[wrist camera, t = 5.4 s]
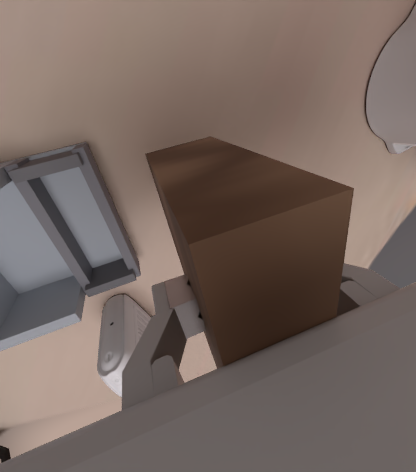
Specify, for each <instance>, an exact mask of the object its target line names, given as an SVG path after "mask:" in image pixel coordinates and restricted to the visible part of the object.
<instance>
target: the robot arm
mask: <svg viewBox="0 0 416 472" xmlns="http://www.w3.org/2000/svg"><path fill="white" fill-rule="evenodd" d="M366 113H367V119H368V122H369V125H370V127H371V129H372V131H373V132H374V133H375V134H376V135H377V136H378V137H380V138H381V139H383V140H384V141H385V142H386V145H387V148H388V150H389V152H390V153H393V154H400V153H402V152H404V151H406V150H407V149H409V148H411V147H413V146H416V4H415V6H414V8H413V10H412V12H411V14H410V16H409V17H408V19H407V20H406V21H405V22H404V23H403V25H402V26H401V27H400V28H399V29H398V30H397V31H396V32H395V33H394V35H393V36H392V37H391V38H390V40H389V41H388V43H387V44H386V46H385V47H384V49H383V50H382V52H381V54H380V56H379V58H378V60H377V62H376V64H375V67H374V69H373V72H372V75H371V78H370V82H369V86H368V91H367V98H366ZM152 293H153V300H154V306H155V312H156V315H154V316H152V317H151V319H150V321H149V323H148V325H147V327H146V329H145V330H144V332H143V334H142V336H141V338H140V340H139V342H138V343H137V345H136V347H135V349H134V351H133V353H132V355H131V357H130V358H129V360H128V362H127V364H126V366H125V368H124V370H123V371H122V411H119V412H117V413H115V414H113V415H111V416H108V417H106V418H104V419H101V420H99V421H96V422H94V423H92V424H90V425H88V426H85V427H83V428H80V429H78V430H76V431H74V432H71V433H69V434H67V435H64V436H62V437H60V438H58V439H55V440H53V441H51V442H48V443H46V444H44V445H41V446H39V447H37V448H35V449H32V450H30V451H28V452H25V453H23V454H21V455H19V456H16V457H14V458H12V459H9V460H7V461H5V462H3V463H0V472H416V282H415V283H413V284H410V285H408V286H406V287H404V288H401V289H400V288H398V287H397V286H395V285H394V284H392V283H391V282H389V281H388V280H386V279H385V278H383V277H382V276H380V275H379V274H377V273H376V272H374V271H373V270H370V269H366V268H362V267H357V266H353V265H349V264H345V263H344V264H343V271H342V278H341V286H340V293H339V300H338V308H337V315H336V317H335V318H333V319H331V320H329V321H326V322H324V323H322V324H319V325H317V326H315V327H313V328H310V329H308V330H306V331H303V332H301V333H299V334H297V335H294V336H292V337H290V338H288V339H285V340H283V341H281V342H278V343H276V344H274V345H272V346H269V347H267V348H265V349H262V350H260V351H258V352H256V353H253V354H251V355H249V356H246V357H244V358H242V359H240V360H237V361H235V362H233V363H230V364H228V365H226V366H223V367H220V368H218V369H216V370H213V371H211V372H209V373H206V374H204V375H202V376H200V377H197V378H195V379H193V380H190V381H188V382H186V383H184V381H183V378H182V376H181V374H180V372H179V366H180V363H181V359H182V355H183V352H184V348H185V345H186V341H187V338H189V337H192V336H194V335H196V334H198V333H201V332H203V331H205V330H206V328H205V325H204V322H203V319H202V316H201V314H200V309H199V306H198V303H197V300H196V297H195V294H194V292H193V289H192V287H191V285H190V282H189V279H188V276H187V274H185V275H182V276H179V277H176V278H173V279H170V280H167V281H164V282H161V283H158V284H155V285H153V286H152Z"/></svg>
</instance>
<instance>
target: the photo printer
mask: <svg viewBox="0 0 416 472" xmlns="http://www.w3.org/2000/svg"><path fill="white" fill-rule="evenodd" d="M150 319H151V317H150V316H149V315H148V314H147V313H146V312H145V311H144V310H143V309H142V308H141V307H140V306H139V305H138V304H137V303H136V302H135V301H133V300H132V299H131V298H130V297H129V296H127V295H125V294H124V295H121V294H120V295H116V296H113V297H111V298H110V299H109V300H108V301H107V303H106V305H105V306H104V307H103V311H102V320H101V330H100V341H99V351H98V363H97V370H98V374H99V375H100V377H101V378H102V380H103V381H104V382H105V384H106V385H107V386H108V387H109V388H110V389H111V390H112V391H114V392H115V393H116V394H117V395H119V396H120V397H121V398H122V371H123V370H124V368H125V366H126V364H127V362H128V360H129V358H130V357H131V355H132V353H133V351H134V349H135V347H136V345H137V343H138V342H139V340H140V338H141V336H142V334H143V332H144V330H145V329H146V327H147V325H148V323H149V321H150Z"/></svg>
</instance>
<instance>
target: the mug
mask: <svg viewBox="0 0 416 472" xmlns="http://www.w3.org/2000/svg"><path fill="white" fill-rule="evenodd" d="M0 459H1V463H3V462H5V461H7V460H9V459H11V457H10V452H9V449H8V448H6V447H3V446H0Z"/></svg>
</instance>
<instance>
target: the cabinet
mask: <svg viewBox="0 0 416 472" xmlns="http://www.w3.org/2000/svg"><path fill="white" fill-rule="evenodd" d="M140 275H141V273H140V266H139V261H138V258H137V256H136V254H135V251H134V249H133V247H132V245H131V242H130V240H129V238H128V236H127V233H126V231H125V229H124V226H123V224H122V222H121V220H120V217H119V215H118V213H117V211H116V208H115V206H114V204H113V201H112V199H111V197H110V195H109V192H108V190H107V188H106V186H105V183H104V181H103V179H102V176H101V174H100V172H99V170H98V167H97V165H96V163H95V161H94V158H93V156H92V154H91V151H90V149H89V147H88V145H87V143H86V142H83V143H79V144H75V145H71V146H67V147H63V148H59V149H55V150H51V151H47V152H43V153H39V154H35V155H31V156H27V157H23V158H19V159H15V160H11V161H7V162H3V163H0V351H2V350H5V349H8V348H10V347H13V346H16V345H18V344H21V343H24V342H26V341H29V340H32V339H34V338H37V337H40V336H42V335H45V334H48V333H50V332H53V331H56V330H58V329H61V328H64V327H66V326H69V325H72V324H74V323H77V322H80V321H81V318H82V312H83V307H84V301H85V295H88V297H90V296H93V295H96V294H99V293H102V292H104V291H107V290H110V289H113V288H115V287H118V286H121V285H124V284H127V283H129V282H132V281H135V280H136V277H137V276H140Z"/></svg>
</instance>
